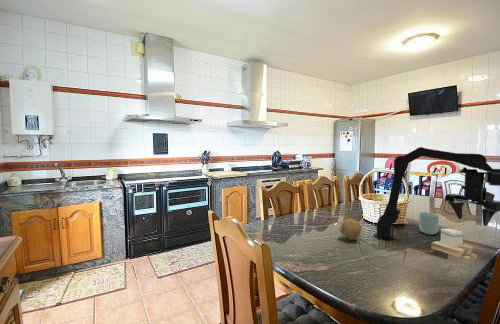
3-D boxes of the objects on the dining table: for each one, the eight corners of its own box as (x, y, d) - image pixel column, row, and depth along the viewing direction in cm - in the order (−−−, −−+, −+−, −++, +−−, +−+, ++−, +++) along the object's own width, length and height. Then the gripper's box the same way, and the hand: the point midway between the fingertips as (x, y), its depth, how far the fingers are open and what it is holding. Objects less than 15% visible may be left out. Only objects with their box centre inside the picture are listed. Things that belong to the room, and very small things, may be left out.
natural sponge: (339, 241, 110) (340, 220, 110) (340, 235, 118) (340, 215, 118) (361, 244, 107) (361, 222, 106) (360, 237, 115) (360, 217, 115)
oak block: (459, 258, 94) (459, 251, 94) (431, 249, 103) (431, 242, 103) (473, 254, 98) (473, 247, 98) (445, 245, 107) (445, 239, 107)
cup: (441, 236, 117) (442, 216, 116) (423, 235, 118) (424, 215, 118) (432, 231, 125) (433, 212, 124) (415, 230, 126) (416, 211, 126)
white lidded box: (451, 247, 98) (452, 232, 98) (440, 242, 103) (440, 228, 103) (462, 246, 99) (463, 232, 98) (450, 241, 104) (451, 228, 103)
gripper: (518, 187, 91) (516, 228, 91) (464, 181, 109) (462, 215, 109) (496, 188, 88) (494, 230, 89) (444, 181, 106) (443, 216, 107)
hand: (472, 222), depth 99 cm, fingers open, 9 cm apart
